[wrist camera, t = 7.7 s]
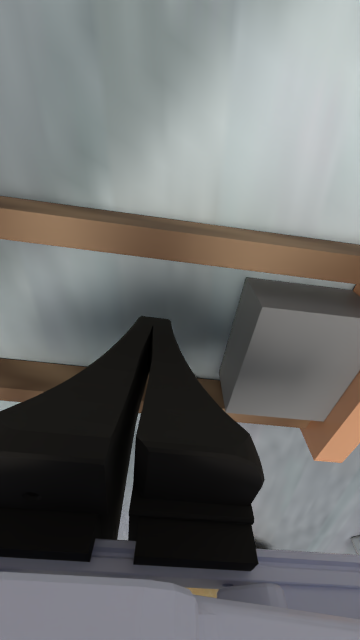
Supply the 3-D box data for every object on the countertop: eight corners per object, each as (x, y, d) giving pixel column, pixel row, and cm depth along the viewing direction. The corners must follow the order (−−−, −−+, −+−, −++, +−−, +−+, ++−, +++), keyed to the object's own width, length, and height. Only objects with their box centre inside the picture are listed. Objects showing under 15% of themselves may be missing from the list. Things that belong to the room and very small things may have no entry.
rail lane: (-19, 374, 15) (-71, 427, 12) (-108, 166, 9) (-251, 167, 6) (312, 406, 16) (341, 462, 13) (418, 239, 10) (514, 270, 7)
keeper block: (218, 369, 15) (225, 412, 12) (245, 274, 11) (262, 306, 9) (299, 377, 15) (323, 421, 12) (348, 287, 12) (394, 322, 9)
